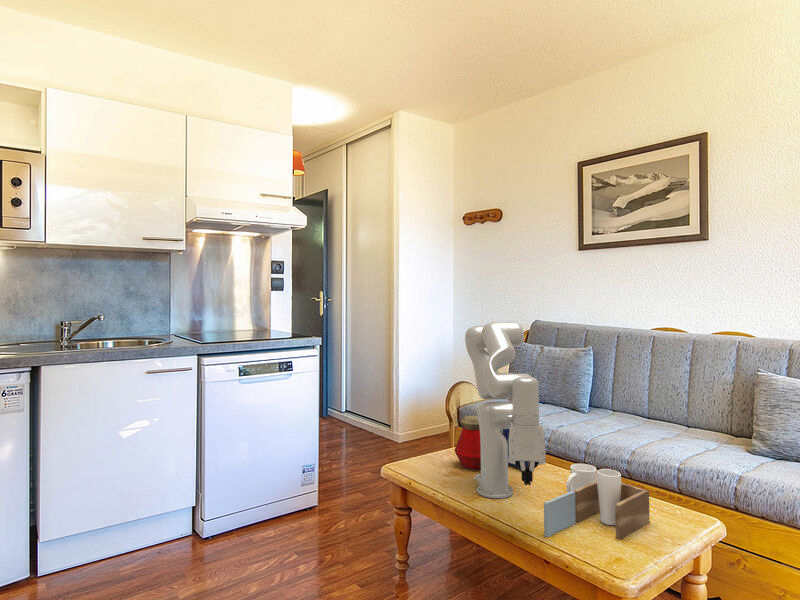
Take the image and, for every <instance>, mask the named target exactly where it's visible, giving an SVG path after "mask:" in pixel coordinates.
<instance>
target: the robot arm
mask: <svg viewBox="0 0 800 600" xmlns="http://www.w3.org/2000/svg"><path fill="white" fill-rule="evenodd" d="M464 336H465V337H464V342H465V349H466V351H467V354H468V356H469V358H470V360H471V363H472V365H473V370H474V376H475V382H476V388H477V392H478V395H479V397H480V398H481V399H483V400H487V401H488V400H489V401H488V402H483V403H481V404H480V405H479V407H478V408H477V412H476V413H477V417H478V422H479V428H480V446H481V469H480V473H479V472H478V473H477V474H476V475H475V476H474V477H473V480H474V481H476V482H478V485H477V486H476V492H477V493H478V494H479V495H480V496H482V497H484V498H490V499H506V498H509V497H511V496H512V495H513V494H514V489H513V487H511V486H510V485H509V465H508V462H509V463H512V464H516V465H517V466H518V467H519V468H520V469H521V470H520V473H521V482H523V484H524V486H531V484H532V483H531V482H533V481H534V478H533V477H534V474H533V472H534V470H535V469H536V468H537V467H538V466H540V465H544V464H545V465H546V463H547V461H546V441H545V440H546V439H545V434H544V433H545V432H544V429H543V425H542V423H541V424H540V405H539V404H540V400H539V399H540V398H539V382H538V379H537V378H535V377H532V376H531V375H530V374H529V373H513V372H499V369H501V368H504V367H506V366H508V365H510V364H511V363H512V362H513V361H514V359H515V358H516V350H515V347H518V346H521V345H522V344H523V342H524V339H525V333H524V329H523V327H522V325H521V324H520V323H518V322H517V321H516V322H515V321H491V322H488V323H485V324H484V325H475V326H471V327H469V328H468V329H467V330H466V331H465V335H464ZM492 400H497V401H492ZM498 400H500V401H498ZM501 400H507V401H501ZM503 429H510V430H509V444H508V443H507V440H506V438H505V437H504V435H503V432H501V431H503ZM508 450H509V456H508ZM524 461H529V465H528V468H527V470H526V467H525V464H524Z"/></svg>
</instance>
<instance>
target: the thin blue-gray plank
mask: <svg viewBox="0 0 800 600" xmlns="http://www.w3.org/2000/svg"><path fill="white" fill-rule="evenodd" d="M573 525H576V521H575V492H574V491H571V492H566V493H564V494H561V495H559V496H556V497H554V498H552V499H549V500H547V501H544V502H543V537H545V538H549V537H551V536H553V535H556V534H557V533H559V532H561V531H564V530H565V529H567V528H569V527H572V526H573Z"/></svg>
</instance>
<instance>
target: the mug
mask: <svg viewBox="0 0 800 600" xmlns="http://www.w3.org/2000/svg"><path fill="white" fill-rule="evenodd" d="M597 471H598V470H597V468H596V466H594V465H591V464H586V463H573V464H571V465H570V475H569V476H568V477H567V480H566V484H565V485H566V491H567V492H566V493H568V492H571V491H574V490H576V489H578V488H580V487H583V486H585V485H588V484H590V483H593V482H595V481H597Z"/></svg>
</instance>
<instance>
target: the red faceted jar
mask: <svg viewBox="0 0 800 600" xmlns="http://www.w3.org/2000/svg"><path fill="white" fill-rule="evenodd" d="M460 423H461V425H462V429H461V432H460V434H459V437H458V440H457V442H456V445H455V446H454V447H455V448H454V453H455V455H456V457H457V458H458V461H459V463H460V465H461V466H462V467H463V468H465V469H468V470H472V471H479V470H480V471H481V446H480V428H479V422H478V415H477V416H476V415H466V416H464V417H463V418H462V419H461V420H460Z"/></svg>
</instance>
